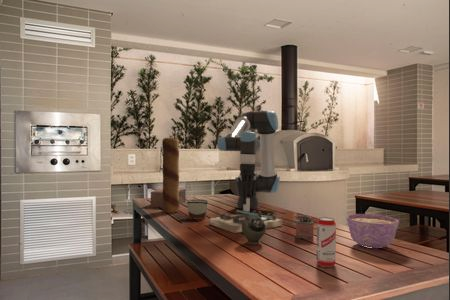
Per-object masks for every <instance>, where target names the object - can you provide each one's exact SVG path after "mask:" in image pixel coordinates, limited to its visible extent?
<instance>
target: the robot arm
mask: <svg viewBox="0 0 450 300" xmlns="http://www.w3.org/2000/svg"><path fill="white" fill-rule="evenodd" d="M278 129H279V119H278V115H277V113H276V111H273V110H251V111H246V112H244V113H243V114H241V115H239V116H238V117H237V118H236V120H235V121H234V125H233V126H232V128H230V130H229V132H228V133H227V135H226V136H220V137H219V138H218V139H217V148H218V150H219V151H221V152H223V151H224V152H240V153H239V154H240V156H239V162H240V164H239V171H240V172H239V175H238V176H237V177H235V182H236V186H237V191H238V192H237V193H238V198H237V202H236V203H235V205H236V206H235V208H237V209H240V210H242V211H245V212H250V210H258V209H259V208H260V205H259V201H258V200H259V199H258V198H257V193H265V194H266V193H269V194H276V193H277V192H279V191H278V190H279V186H280V179H281V177H280V175H278V172H277V171H276V170H275V168H276V167H275V148H274V147H275V146H274V145H275V144H274V142H275V141H274V135H275V134H276V132H277V130H278ZM251 130H252V131H251ZM253 130H254V131H256V132H253ZM256 134H258V135H259V138H257V135H256ZM258 150H260V168H261V169H260V171H259V173H258V172H257V171H256V164H255V163H256V152H257V151H258Z"/></svg>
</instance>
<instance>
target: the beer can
mask: <svg viewBox="0 0 450 300" xmlns="http://www.w3.org/2000/svg"><path fill="white" fill-rule="evenodd" d="M316 225H317V226H316V256H315V257H316V260H315V261H316V264H317V265H318V266H319V265H320V266H319V267H321V266H324V267H323V268H325V267H331V268H333V267H334V266H336V251H337V250H336V246H337V244H336V243H337V241H336V240H337V239H336V237H337V233H336V232H337V223H336V222H335V218H332V217H325V216H324V217H321V216H320V217H319V218H318V221H317V223H316ZM332 266H333V267H332Z"/></svg>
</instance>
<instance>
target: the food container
mask: <svg viewBox="0 0 450 300" xmlns="http://www.w3.org/2000/svg"><path fill="white" fill-rule="evenodd" d="M185 204H186V205H187V213H188V219H192V218H193V219H197V220H198V219H199V220H206V218H207V210H208V209H207V208H208V205H209V202H208V200H207V199H203V198H201V199H200V198H199V199H198V198H196V199H193V198H192V199H187V200H186V202H185Z"/></svg>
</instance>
